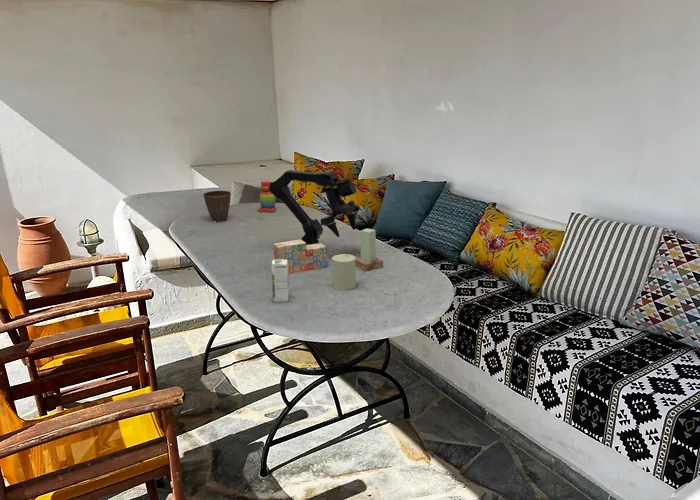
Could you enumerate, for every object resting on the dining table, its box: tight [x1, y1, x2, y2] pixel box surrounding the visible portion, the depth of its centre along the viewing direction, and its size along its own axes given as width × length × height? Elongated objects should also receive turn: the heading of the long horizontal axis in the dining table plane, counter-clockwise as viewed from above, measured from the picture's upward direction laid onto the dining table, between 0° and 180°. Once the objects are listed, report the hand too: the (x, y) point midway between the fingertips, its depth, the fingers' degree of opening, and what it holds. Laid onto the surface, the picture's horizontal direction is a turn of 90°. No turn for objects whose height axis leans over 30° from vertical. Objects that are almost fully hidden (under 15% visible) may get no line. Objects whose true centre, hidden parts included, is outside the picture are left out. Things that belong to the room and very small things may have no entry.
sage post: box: [360, 228, 376, 262], centre depth 224 cm, size 4×4×13 cm
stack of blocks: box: [273, 238, 328, 275], centre depth 223 cm, size 21×6×12 cm, turn 115°
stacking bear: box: [257, 181, 277, 213], centre depth 321 cm, size 11×10×18 cm
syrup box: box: [271, 259, 290, 303], centre depth 192 cm, size 6×6×14 cm
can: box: [331, 253, 357, 291], centre depth 204 cm, size 9×9×12 cm
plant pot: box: [203, 190, 232, 223], centre depth 299 cm, size 15×15×16 cm
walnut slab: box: [355, 256, 384, 272], centre depth 226 cm, size 9×9×3 cm
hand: (346, 233), depth 234 cm, fingers open, 9 cm apart
